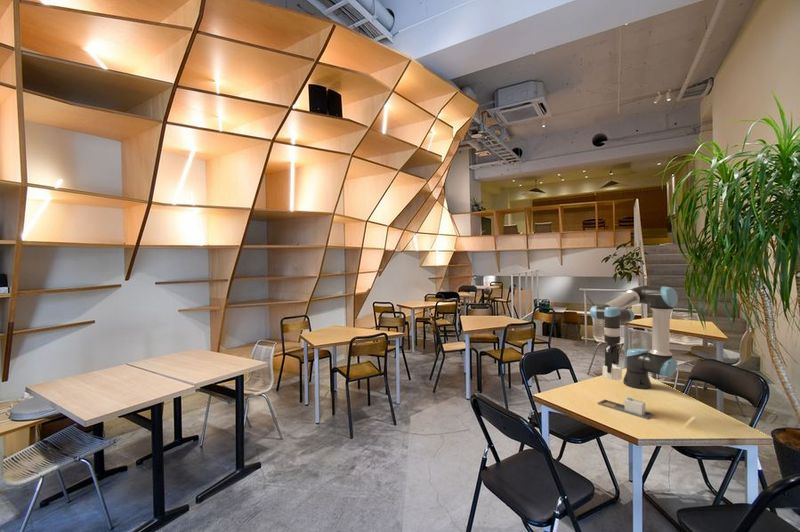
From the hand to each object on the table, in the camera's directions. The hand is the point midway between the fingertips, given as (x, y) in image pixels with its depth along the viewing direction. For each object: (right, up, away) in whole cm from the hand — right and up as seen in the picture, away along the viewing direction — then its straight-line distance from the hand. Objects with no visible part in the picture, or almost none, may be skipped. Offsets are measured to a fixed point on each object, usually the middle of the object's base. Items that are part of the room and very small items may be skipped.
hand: (611, 377), depth 203 cm
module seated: (+7, -16, -9) cm, 20 cm away
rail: (+4, -17, -5) cm, 18 cm away
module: (0, 0, 0) cm, 0 cm away
